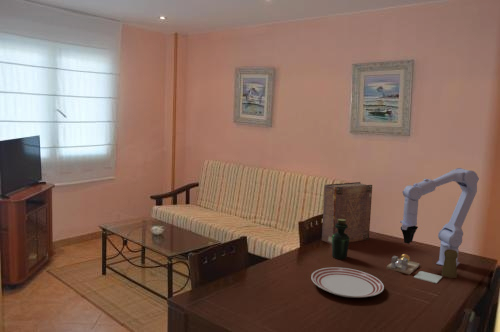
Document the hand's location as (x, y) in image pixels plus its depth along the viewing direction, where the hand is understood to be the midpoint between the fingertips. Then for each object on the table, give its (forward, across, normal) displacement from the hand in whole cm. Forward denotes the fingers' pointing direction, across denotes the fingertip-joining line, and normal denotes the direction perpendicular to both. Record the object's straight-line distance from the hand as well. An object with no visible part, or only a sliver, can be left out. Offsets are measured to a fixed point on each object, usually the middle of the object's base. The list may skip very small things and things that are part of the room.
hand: (408, 242), depth 189 cm
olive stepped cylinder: (+11, 0, +18) cm, 21 cm away
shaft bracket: (+10, +4, 0) cm, 11 cm away
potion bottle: (+11, +12, -27) cm, 31 cm away
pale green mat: (+10, +9, +12) cm, 18 cm away
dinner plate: (+11, +42, -9) cm, 44 cm away
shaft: (+9, +7, 0) cm, 12 cm away
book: (+11, -16, -37) cm, 42 cm away
